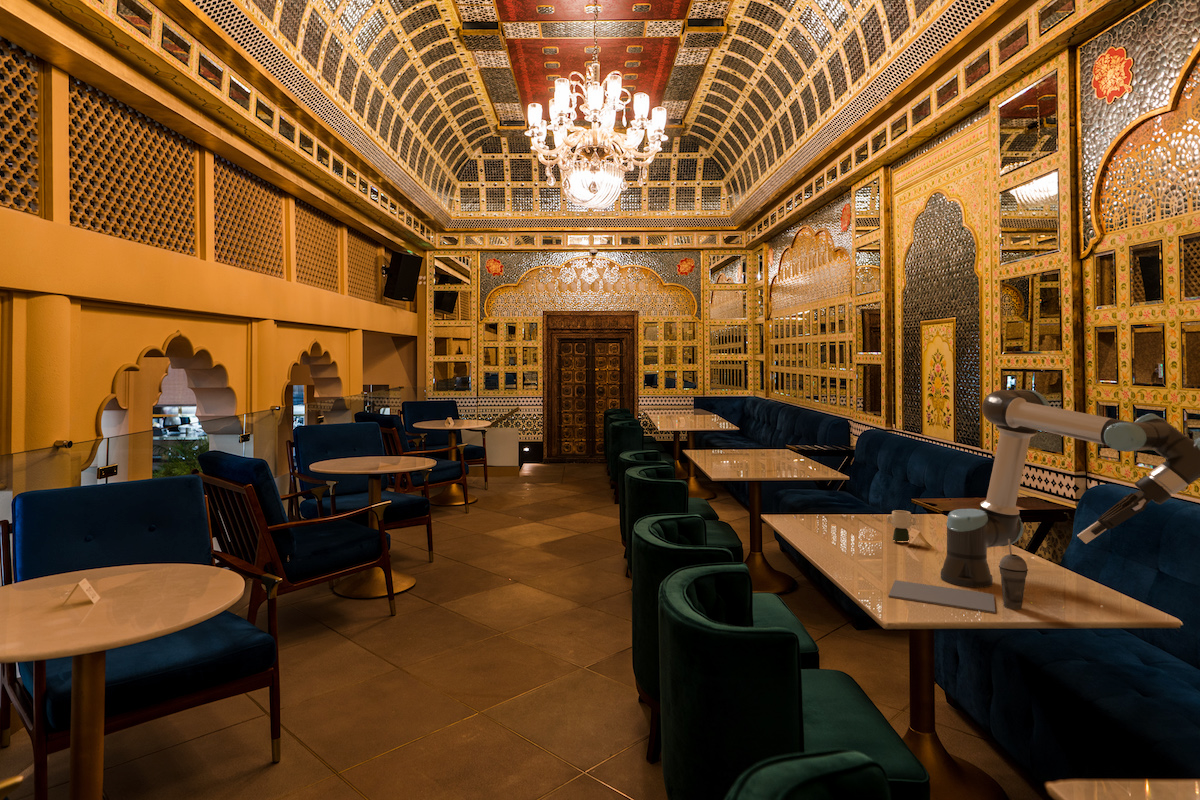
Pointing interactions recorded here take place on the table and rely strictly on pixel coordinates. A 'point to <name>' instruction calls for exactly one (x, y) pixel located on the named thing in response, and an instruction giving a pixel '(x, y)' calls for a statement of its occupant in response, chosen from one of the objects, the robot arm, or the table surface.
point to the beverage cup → (1013, 579)
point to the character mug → (901, 524)
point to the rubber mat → (943, 596)
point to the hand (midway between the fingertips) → (1081, 539)
